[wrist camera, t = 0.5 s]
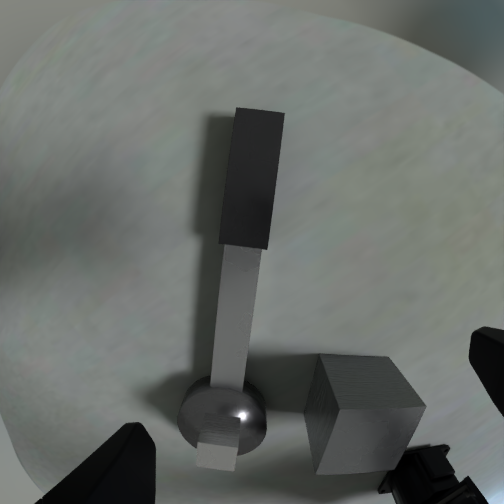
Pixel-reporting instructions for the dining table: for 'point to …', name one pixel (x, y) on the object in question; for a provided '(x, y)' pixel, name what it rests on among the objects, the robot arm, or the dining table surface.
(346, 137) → the dining table surface
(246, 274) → the ratchet
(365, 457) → the grey bevelled cube
